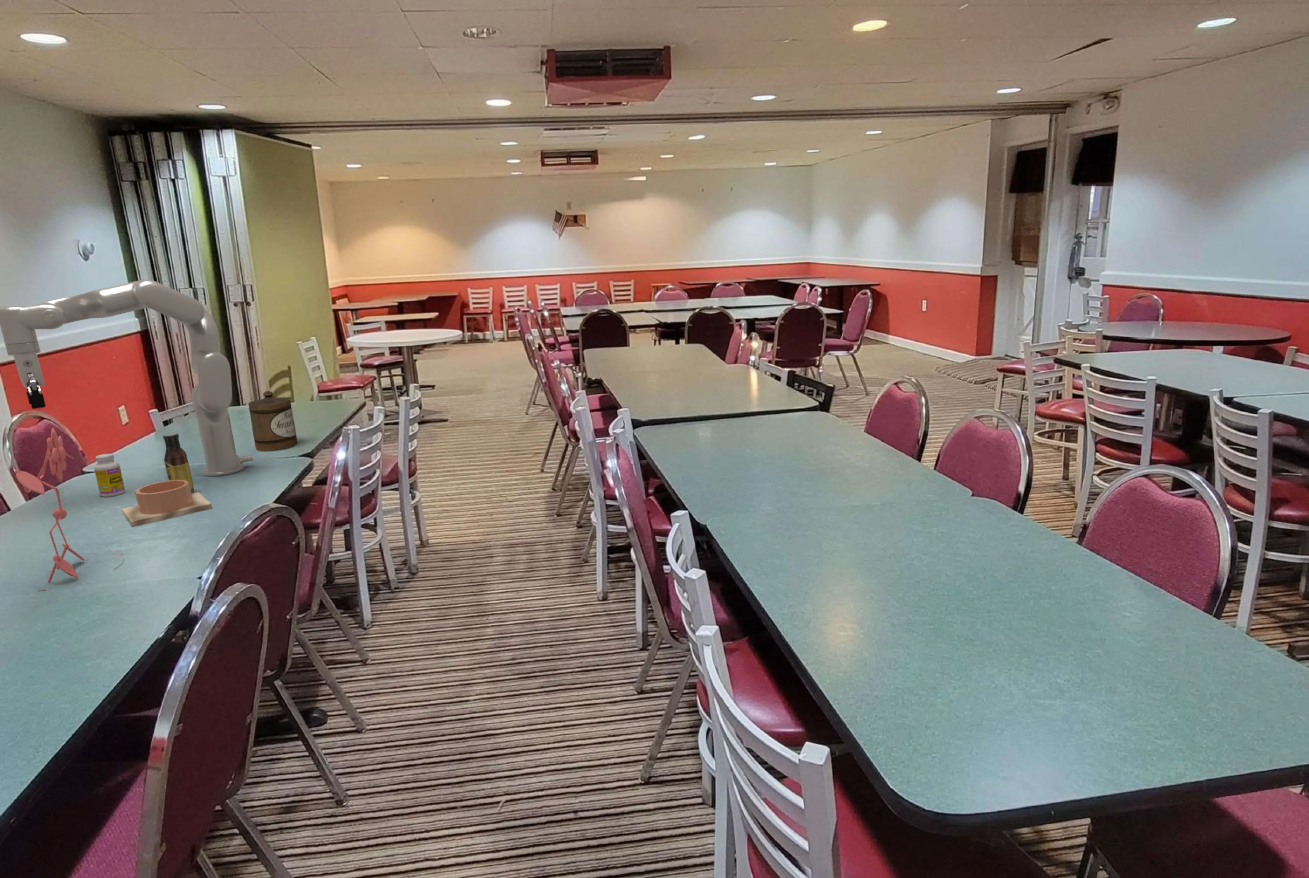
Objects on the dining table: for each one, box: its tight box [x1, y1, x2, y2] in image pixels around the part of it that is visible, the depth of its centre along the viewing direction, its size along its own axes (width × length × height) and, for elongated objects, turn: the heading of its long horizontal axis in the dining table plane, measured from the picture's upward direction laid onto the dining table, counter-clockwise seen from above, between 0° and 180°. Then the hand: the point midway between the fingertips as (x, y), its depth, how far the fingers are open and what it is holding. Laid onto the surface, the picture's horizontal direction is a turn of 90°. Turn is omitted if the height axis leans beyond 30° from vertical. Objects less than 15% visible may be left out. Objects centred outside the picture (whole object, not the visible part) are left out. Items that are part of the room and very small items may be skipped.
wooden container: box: [248, 390, 298, 452], centre depth 289 cm, size 15×15×22 cm
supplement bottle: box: [93, 453, 126, 498], centre depth 238 cm, size 7×7×13 cm
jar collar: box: [134, 480, 193, 514], centre depth 220 cm, size 13×13×6 cm
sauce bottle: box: [162, 432, 195, 493], centre depth 234 cm, size 6×6×20 cm
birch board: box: [121, 491, 213, 528], centre depth 221 cm, size 20×16×2 cm
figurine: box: [14, 427, 125, 592], centre depth 177 cm, size 15×26×35 cm, turn 27°
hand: (37, 405), depth 224 cm, fingers open, 9 cm apart
